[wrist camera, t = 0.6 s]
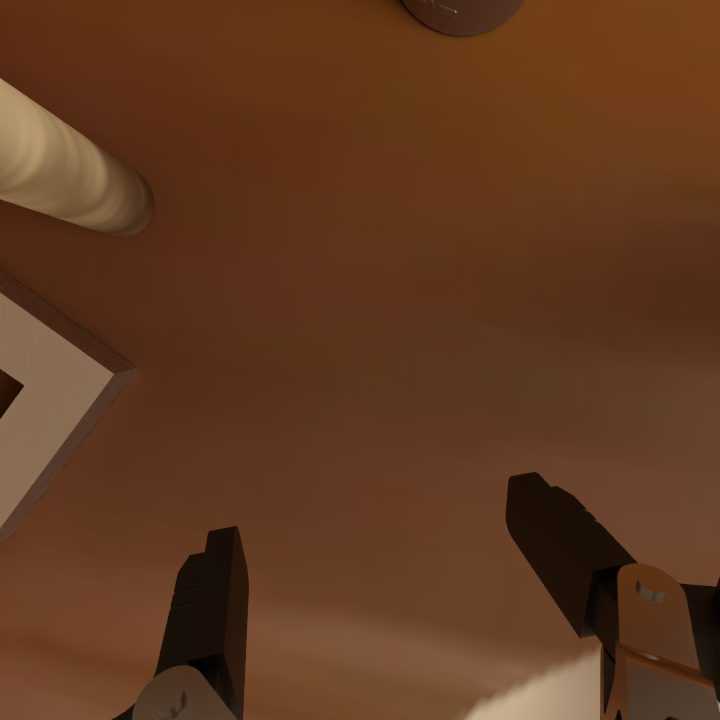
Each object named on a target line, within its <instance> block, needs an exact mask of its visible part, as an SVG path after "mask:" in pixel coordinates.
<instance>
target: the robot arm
mask: <svg viewBox="0 0 720 720" xmlns="http://www.w3.org/2000/svg"><path fill="white" fill-rule="evenodd" d="M402 1H403V3H404V4H405V6H406V7H407V8H408V9H409V10H410V11H411V13H412V14H413V15H414V16H415V17H416V18H417V19H419V20H420V21H421V22H423V23H424V24H426V25H427V26H428V27H430V28H432V29H435V30H437V31H439V32H442V33H444V34H450V35H456V36H469V35H477V34H480V33H484V32H487V31H490V30H492V29H494V28H495V27H497V26H499V25H501V24H503V23H504V22H505V21H506V20H507V19H508V18H510V17H511V16H512V15H513V14H514V13H515V12H516V11H517V9H518V8H519V7H520V5H521V4H522V3H523V1H524V0H402ZM506 523H507V527H508V530H509V533H510V535H511V537H512V538H513V540H514V541H515V543H516V544H517V546H518V547H519V549H520V550H521V552H522V553H523V555H524V556H525V558H526V559H527V561H528V562H529V564H530V565H531V567H532V568H533V570H534V571H535V573H536V574H537V575H538V577H539V578H540V580H541V581H542V583H543V584H544V586H545V587H546V589H547V590H548V592H549V593H550V595H551V596H552V598H553V599H554V601H555V602H556V604H557V605H558V607H559V608H560V610H561V611H562V613H563V614H564V616H565V617H566V619H567V620H568V621H569V623H570V624H571V626H572V627H573V629H574V630H575V632H576V633H577V635H578V636H579V638H580V639H581V638H585V637H589V636H593V635H596V636H597V637H598V638H599V640H600V641H601V643H602V646H601V663H600V664H601V666H600V668H601V669H600V677H601V678H600V679H601V680H600V720H720V712H719V707H718V703H717V700H718V702H719V703H720V578H719V580H718V583H717V586H716V587H714V586H702V585H690V584H680V583H678V582H677V581H676V580H675V579H673V578H672V577H671V576H670V575H668V574H667V573H665V572H664V571H662V570H660V569H658V568H655V567H653V566H650V565H646V564H639V563H637V562H636V561H635V560H634V558H633V557H632V556H631V555H630V554H629V553H628V552H627V551H626V550H625V549H624V548H623V547H622V546H621V545H620V544H619V543H618V542H617V541H616V540H615V539H614V538H613V536H612V535H611V534H610V533H609V532H608V531H607V530H606V529H605V528H604V527H603V526H602V525H601V524H600V523H597V520H596V519H595V518H594V517H593V515H592V514H591V513H590V512H587V510H586V508H585V507H584V506H583V505H582V504H581V503H580V502H579V501H578V500H577V499H576V498H575V497H574V496H573V495H571V494H570V493H568V492H566V491H564V490H563V489H561V488H559V487H558V486H554V487H550V486H549V485H548V483H547V482H546V481H545V480H544V479H543V478H542V477H541V476H540V475H539V474H538V473H536V472H532V473H526V474H521V475H515V476H511V477H510V478H509V482H508V493H507V505H506ZM248 596H249V581H248V571H247V565H246V560H245V556H244V551H243V547H242V543H241V538H240V534H239V530H238V527H237V526H234V527H228V528H223V529H218V530H212V531H209V533H208V536H207V542H206V548H205V552H204V553H198V554H193V555H190V556H189V557H188V559H187V560H186V562H185V563H184V565H183V566H182V568H181V569H180V571H179V572H178V576H177V580H176V585H175V589H174V595H173V598H172V602H171V610H170V611H169V616H168V620H167V625H166V629H165V633H164V638H163V642H162V647H161V651H160V656H159V660H158V665H157V669H156V672H155V675H154V677H153V679H152V680H151V681H150V682H149V683H148V684H147V685H146V686H145V688H144V689H143V690H142V692H141V693H140V695H139V697H138V699H137V701H136V703H135V704H134V705H132V706H131V707H130V708H129V709H128V710H126V711H125V712H124V713H122V714H120V715H119V716H117V717H116V718H114V719H112V720H243V706H244V684H245V662H246V640H247V618H248Z"/></svg>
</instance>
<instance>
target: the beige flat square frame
mask: <svg viewBox="0 0 720 720" xmlns="http://www.w3.org/2000/svg"><path fill="white" fill-rule="evenodd" d="M0 369H1V370H3V371H4V372H6V373H7V374H9V375H10V376H11V377H13V378H14V379H16V380H17V381H19V382H20V383H22V384H23V385H24V387H23V389H22V390H21V391H20V393H19V394H18V396H17V397H16V398H15V400H14V401H13V402H12V404H11V405H10V407H9V408H8V409H7V411H6V412H5V413H4V415H3V416H2V418H1V419H0V541H2V540H3V539H5V538H6V537H8V536H9V535H10V534H12V533H13V532H15V531H16V530H17V529H18V528H19V526H20V525H21V524H22V522H23V521H24V520H25V518H26V517H27V516H28V514H29V513H30V511H31V510H32V509H33V507H34V506H35V505H36V503H37V502H38V501H39V499H40V498H41V497H42V495H43V494H44V493H45V491H46V490H47V489H48V487H49V486H50V485H51V483H52V482H53V481H54V479H55V478H56V476H57V475H58V474H59V472H60V471H61V470H62V468H63V467H64V466H65V464H66V463H67V462H68V460H69V459H70V458H71V456H72V455H73V454H74V452H75V451H76V450H77V448H78V447H79V446H80V444H81V443H82V442H83V440H84V439H85V437H86V436H87V435H88V433H89V432H90V431H91V429H92V428H93V427H94V425H95V424H96V423H97V421H98V420H99V419H100V417H101V416H102V415H103V413H104V412H105V411H106V409H107V408H108V407H109V405H110V404H111V402H112V401H113V400H114V398H115V397H116V396H117V394H118V393H119V392H120V390H121V389H122V388H123V386H124V385H125V384H126V382H127V381H128V380H129V378H130V377H131V376H132V374H133V373H134V372H135V370H136V369H137V367H135V366H134V365H132V364H131V363H130V362H128V361H127V360H125V359H124V358H123V357H121V356H120V355H118V354H117V353H116V352H114V351H113V350H112V349H110V348H109V347H107V346H106V345H105V344H103V343H102V342H100V341H99V340H98V339H96V338H95V337H94V336H92V335H91V334H89V333H88V332H87V331H85V330H84V329H82V328H81V327H80V326H78V325H77V324H76V323H74V322H73V321H71V320H70V319H69V318H67V317H66V316H64V315H63V314H62V313H60V312H59V311H58V310H56V309H55V308H53V307H52V306H51V305H49V304H48V303H46V302H45V301H44V300H42V299H41V298H40V297H38V296H37V295H35V294H34V293H33V292H31V291H30V290H28V289H27V288H26V287H24V286H23V285H22V284H20V283H19V282H17V281H16V280H15V279H13V278H12V277H10V276H9V275H8V274H6V273H5V272H4V271H2V270H1V269H0Z"/></svg>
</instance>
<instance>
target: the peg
mask: <svg viewBox="0 0 720 720" xmlns="http://www.w3.org/2000/svg"><path fill="white" fill-rule="evenodd" d="M0 199H2V200H5V201H8V202H11V203H14V204H17V205H20V206H23V207H26V208H29V209H32V210H35V211H38V212H41V213H44V214H47V215H50V216H53V217H56V218H59V219H62V220H65V221H67V222H70V223H73V224H76V225H79V226H82V227H85V228H88V229H91V230H94V231H97V232H100V233H103V234H106V235H109V236H113V237H128V236H132V235H134V234H136V233H138V232H140V231H141V230H142V229H143V228H145V226H146V225H147V224H148V222H149V221H150V219H151V217H152V214H153V209H154V199H153V194H152V191H151V188H150V187H149V185H148V183H147V182H146V180H145V179H144V178H143V177H142V176H141V175H140V174H139V173H137V172H136V171H134V170H133V169H131V168H130V167H128V166H127V165H125V164H124V163H123V162H121V161H120V160H118V159H117V158H115V157H114V156H112V155H111V154H110V153H108V152H107V151H105V150H104V149H102V148H101V147H99V146H98V145H96V144H95V143H94V142H92V141H91V140H89V139H88V138H86V137H85V136H83V135H82V134H80V133H79V132H78V131H76V130H75V129H73V128H72V127H70V126H69V125H67V124H66V123H64V122H63V121H62V120H60V119H59V118H57V117H56V116H54V115H53V114H51V113H50V112H49V111H47V110H46V109H44V108H43V107H41V106H40V105H38V104H37V103H35V102H34V101H33V100H31V99H30V98H28V97H27V96H25V95H24V94H22V93H21V92H19V91H18V90H17V89H15V88H14V87H12V86H11V85H9V84H8V83H6V82H5V81H3V80H2V79H1V78H0Z"/></svg>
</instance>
